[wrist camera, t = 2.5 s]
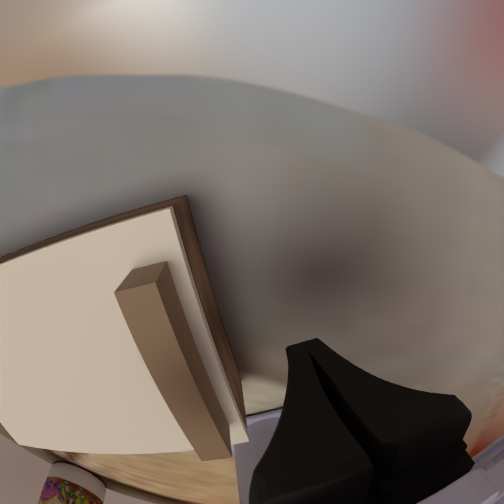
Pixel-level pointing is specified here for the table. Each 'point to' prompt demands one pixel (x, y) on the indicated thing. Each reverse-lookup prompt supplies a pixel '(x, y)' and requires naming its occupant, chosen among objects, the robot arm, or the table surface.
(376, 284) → the table surface
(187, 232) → the storage box
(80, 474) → the milk bottle
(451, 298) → the table surface
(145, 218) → the lid
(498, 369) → the table surface
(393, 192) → the table surface
